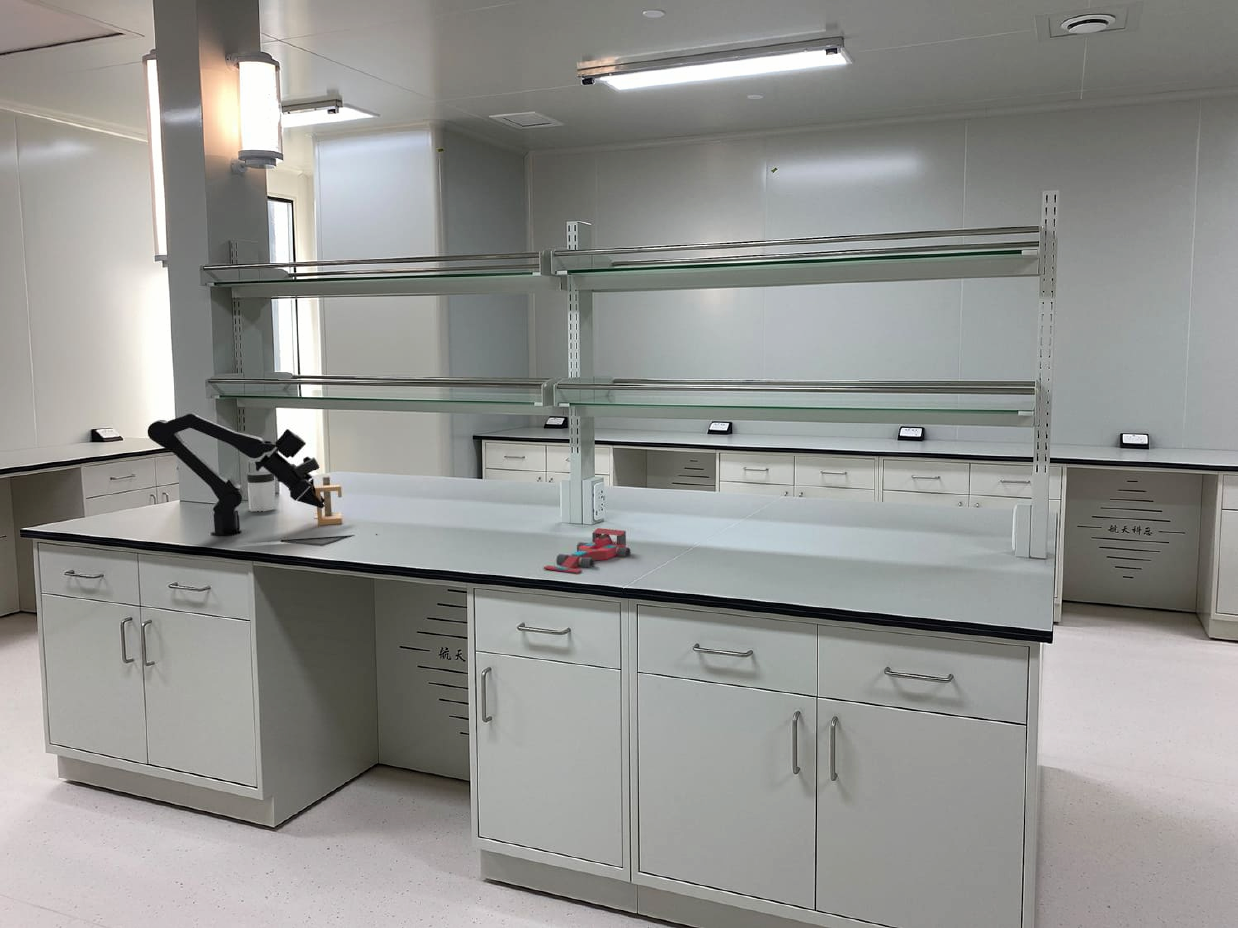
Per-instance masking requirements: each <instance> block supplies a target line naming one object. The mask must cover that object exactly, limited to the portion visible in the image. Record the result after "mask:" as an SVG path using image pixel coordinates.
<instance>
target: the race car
mask: <svg viewBox="0 0 1238 928" xmlns="http://www.w3.org/2000/svg"><path fill="white" fill-rule="evenodd" d="M626 533H627V531H626V530H619V529H610V528H609V529H608V528H600V527H597V528H596V529H595V530H594V531H593V532H592V539H591V540H592V541H591V542H580V541H579V542H578V543H577V545H576V552H574V553H573V552H572V553H570V554H565V553H564V554H562V553H559V554H558V555H557V556H556V558H555V560H556V564H557V565H560V566H555V565H546V566H543V570H550V571H558V572H564V573H571V574H579V573H581V572H583V570H582V569H579V568H577V567H580V568H585V569H591V568H593V567H595V564H596V563H595V561H603V560H605V561H606V560H608V559H611V558H613V557H616V556H617V557H618V558H619V557H620V558H627V557H630V556H631V551H632V550H631V549H630V548H629V547H627V534H626ZM611 536H616V541H613V540H612V538H611Z"/></svg>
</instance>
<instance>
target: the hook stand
mask: <svg viewBox="0 0 1238 928" xmlns="http://www.w3.org/2000/svg"><path fill="white" fill-rule="evenodd" d="M327 485H331V477H330V476H322V486H327ZM331 492H332V491H328V492H323V499H324V500H325V502H324V503H323V504H324V507H323V509H324V512H322V517H331V516H342V517H343V511H335V512H332V495H331ZM313 519H314V520H318V517H317V512H316V513H314V517H313Z"/></svg>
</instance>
